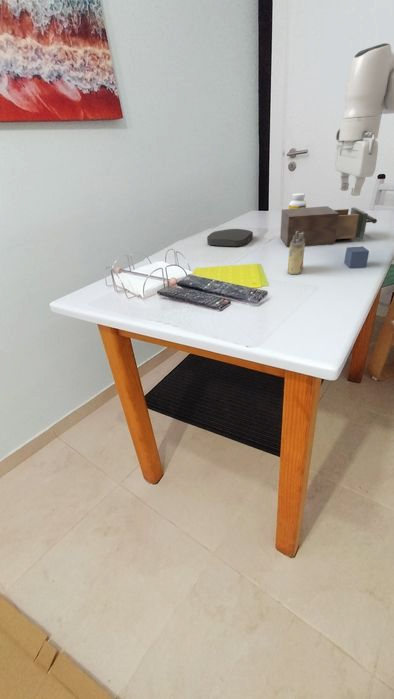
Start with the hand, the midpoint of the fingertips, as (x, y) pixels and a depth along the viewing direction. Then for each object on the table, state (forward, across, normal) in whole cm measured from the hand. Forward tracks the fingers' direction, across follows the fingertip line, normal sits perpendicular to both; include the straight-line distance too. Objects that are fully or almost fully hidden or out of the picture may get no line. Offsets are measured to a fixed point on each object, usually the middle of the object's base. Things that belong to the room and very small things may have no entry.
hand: (349, 192), depth 91 cm
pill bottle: (+18, +42, +5) cm, 46 cm away
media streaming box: (+18, +24, +32) cm, 44 cm away
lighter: (+18, -10, +15) cm, 25 cm away
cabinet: (+17, +19, +6) cm, 27 cm away
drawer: (+16, +19, -6) cm, 26 cm away
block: (+17, -8, -2) cm, 19 cm away
